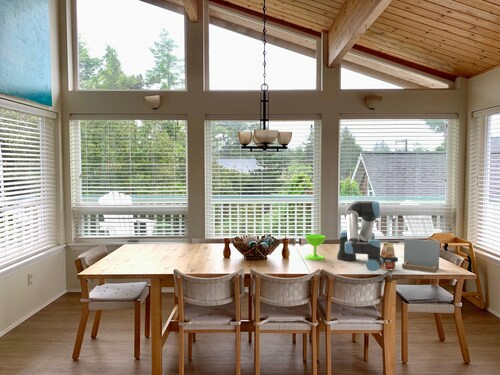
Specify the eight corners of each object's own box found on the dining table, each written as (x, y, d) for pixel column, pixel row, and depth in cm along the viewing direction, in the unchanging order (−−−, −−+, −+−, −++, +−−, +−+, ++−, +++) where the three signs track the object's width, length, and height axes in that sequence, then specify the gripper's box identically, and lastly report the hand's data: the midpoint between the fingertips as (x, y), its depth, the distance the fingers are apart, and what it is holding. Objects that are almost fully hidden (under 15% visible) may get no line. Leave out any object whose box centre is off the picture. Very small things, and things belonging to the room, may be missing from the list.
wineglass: (311, 260, 306) (311, 238, 306) (301, 256, 321) (301, 235, 321) (328, 259, 312) (329, 237, 312) (318, 255, 327) (318, 234, 327)
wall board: (400, 268, 285) (401, 241, 284) (404, 264, 297) (404, 238, 297) (436, 272, 272) (437, 244, 271) (438, 268, 285) (439, 241, 284)
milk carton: (385, 270, 278) (385, 242, 277) (378, 267, 287) (379, 240, 286) (396, 270, 279) (397, 242, 279) (389, 267, 288) (390, 240, 288)
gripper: (358, 264, 263) (367, 259, 281) (397, 269, 250) (403, 263, 268) (358, 253, 263) (367, 248, 281) (397, 258, 250) (403, 252, 268)
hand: (384, 255), depth 275 cm, fingers open, 13 cm apart
